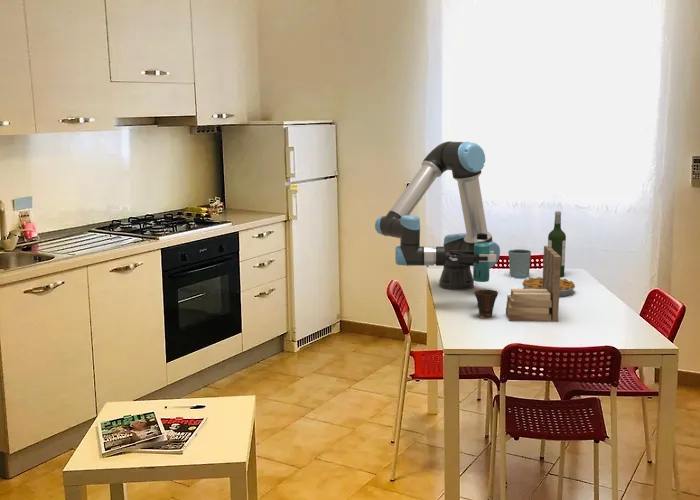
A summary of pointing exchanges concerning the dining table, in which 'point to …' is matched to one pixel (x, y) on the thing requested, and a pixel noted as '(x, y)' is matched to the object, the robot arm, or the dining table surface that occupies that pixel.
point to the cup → (485, 301)
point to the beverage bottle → (483, 267)
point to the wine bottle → (558, 241)
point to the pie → (537, 283)
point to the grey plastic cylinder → (519, 263)
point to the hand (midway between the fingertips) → (494, 256)
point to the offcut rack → (538, 294)
